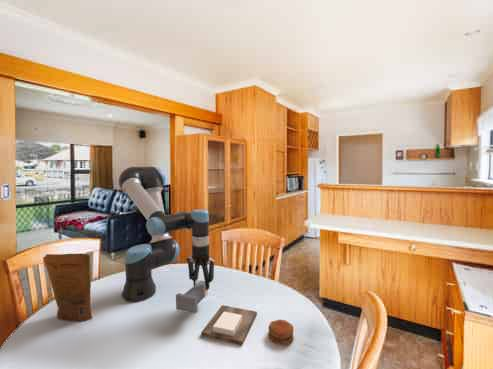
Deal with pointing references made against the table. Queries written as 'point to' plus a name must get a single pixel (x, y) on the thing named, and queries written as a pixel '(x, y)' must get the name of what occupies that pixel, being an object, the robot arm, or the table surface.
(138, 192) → the robot arm
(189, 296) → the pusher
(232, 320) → the tile
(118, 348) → the table surface
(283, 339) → the burger
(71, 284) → the pancake mix bag
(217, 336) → the walnut board
